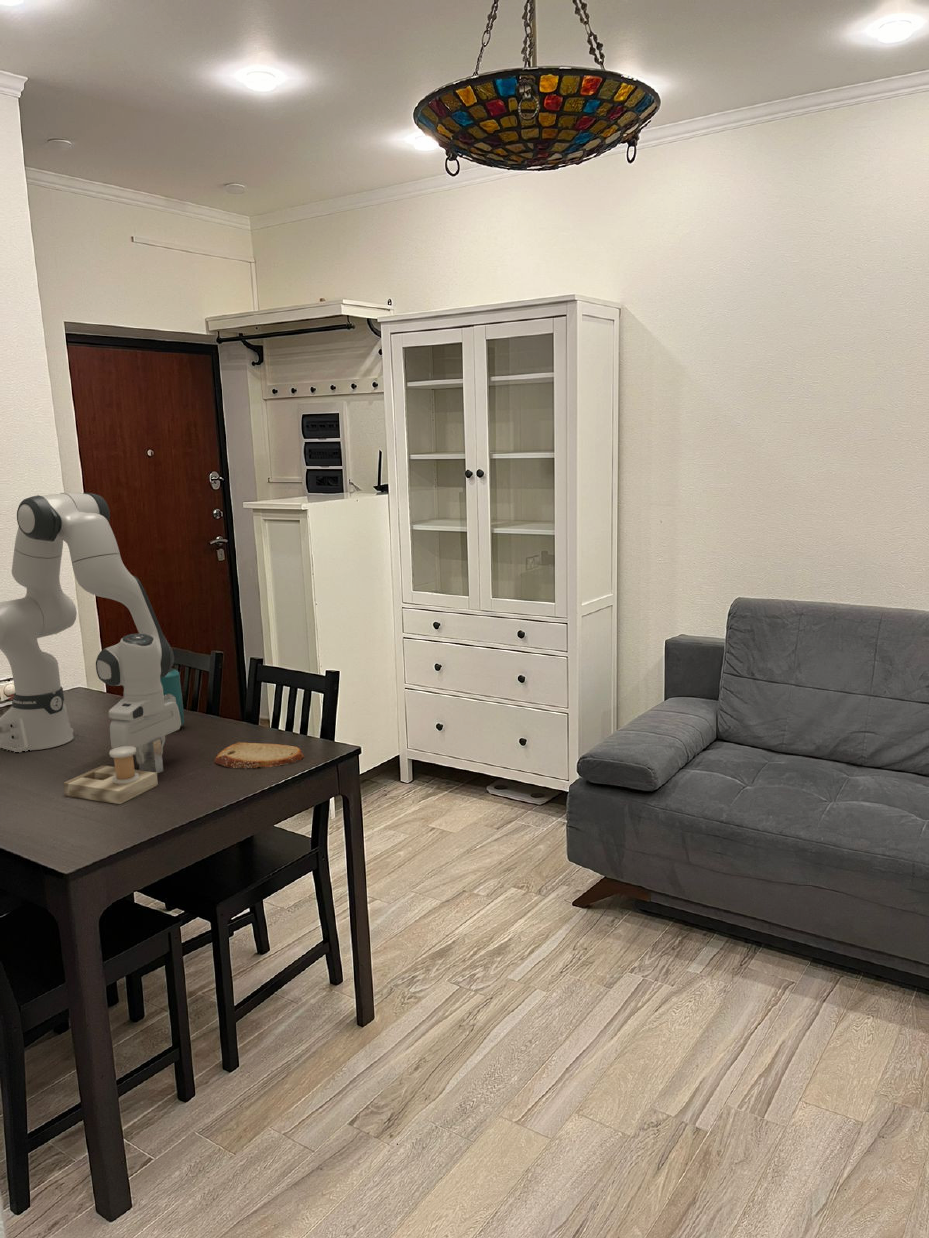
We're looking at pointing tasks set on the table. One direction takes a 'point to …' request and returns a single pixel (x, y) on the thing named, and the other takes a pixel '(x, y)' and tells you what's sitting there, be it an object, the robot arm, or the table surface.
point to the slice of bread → (257, 755)
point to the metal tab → (152, 757)
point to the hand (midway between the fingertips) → (150, 758)
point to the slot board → (108, 785)
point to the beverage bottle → (174, 689)
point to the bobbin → (124, 765)
